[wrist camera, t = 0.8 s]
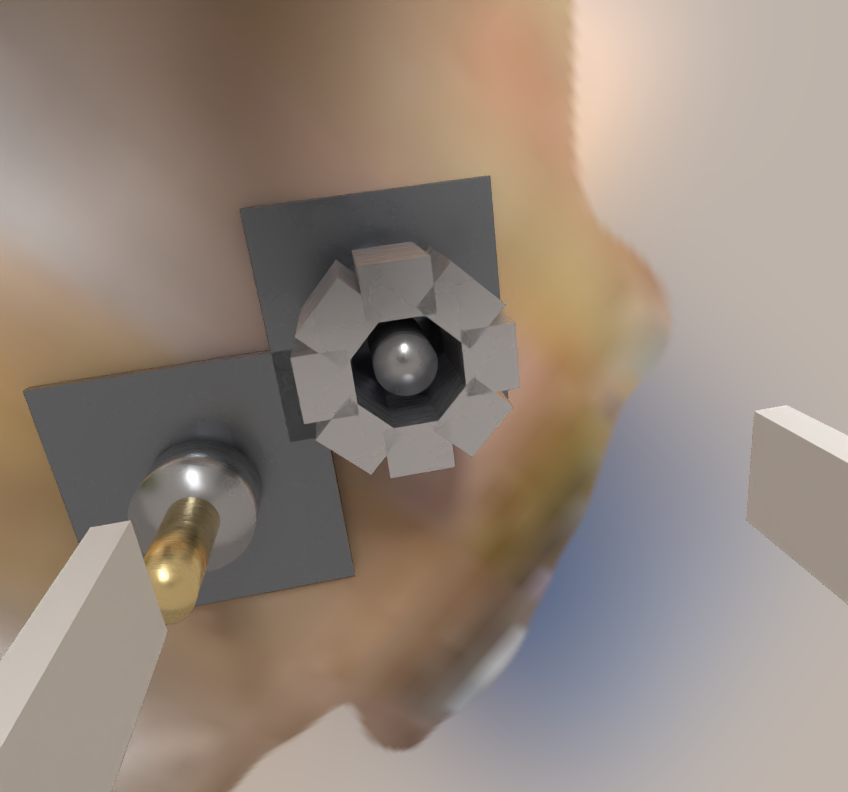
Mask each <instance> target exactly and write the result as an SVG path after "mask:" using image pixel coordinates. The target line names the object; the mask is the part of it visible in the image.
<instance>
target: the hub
mask: <svg viewBox="0 0 848 792" xmlns="http://www.w3.org/2000/svg"><path fill="white" fill-rule="evenodd" d="M282 352H283V351H281V352H278V353H281V354H282ZM284 352H286V350H285V351H284ZM290 352H292V349H291V351H290ZM276 353H277V352H276ZM271 354H273V352H272V353H271V351H270V350H266V351H260V352H253V353H247V354H240V355H234V356H228V357H221V358H215V359H208V360H202V361H195V362H189V363H183V364H176V365H170V366H163V367H157V368H150V369H144V370H138V371H131V372H125V373H118V374H112V375H105V376H99V377H92V378H86V379H80V380H73V381H67V382H60V383H54V384H47V385H41V386H35V387H28V388H27V389H26V390H24V391H23V393H24V396H25V399H26V401H27V404H28V407H29V409H30V412H31V415H32V417H33V420H34V423H35V426H36V428H37V431H38V434H39V436H40V439H41V442H42V444H43V447H44V450H45V453H46V455H47V458H48V461H49V463H50V466H51V469H52V471H53V474H54V477H55V480H56V482H57V485H58V488H59V490H60V493H61V496H62V498H63V501H64V504H65V507H66V509H67V512H68V515H69V517H70V520H71V523H72V525H73V528H74V531H75V534H76V536H77V539H78V542H79V543H80V542H81V540H82V539H83V537H84V536H85V535H86V533H87V532H88V530H89V529H90V527H96V526H101V525H107V524H113V523H118V522H124V521H130V520H131V523H132V526H133V529H134V532H135V535H136V538H137V541H138V544H139V547H140V550H141V553H142V556H143V559H144V562H145V565H146V568H147V571H148V574H149V577H150V580H151V583H152V587H153V590H154V593H155V596H156V599H157V602H158V605H159V608H160V611H161V614H162V617H163V620H164V623H165V625H168V624H173V623H176V622H179V621H181V620H183V619H184V618H186V617H187V616H188V615H189V614H190V613H191V612H192V610H193V608H194V606H198V605H203V604H208V603H214V602H219V601H224V600H229V599H234V598H240V597H245V596H250V595H255V594H261V593H266V592H271V591H276V590H281V589H287V588H292V587H297V586H302V585H307V584H313V583H318V582H323V581H328V580H334V579H339V578H344V577H349V576H354V575H355V574H354V566H353V560H352V555H351V550H350V545H349V540H348V535H347V529H346V524H345V519H344V514H343V509H342V503H341V498H340V493H339V488H338V483H337V477H336V472H335V467H334V462H333V457H332V451H331V450H330V449H329V448H327V447H326V446H324V445H322V444H321V443H319V442H318V441H316V438H314V436H313V437H312V436H311V435H310V436H311V438H312V439H310V438H309V436H308V435H307V434H310V433H311V434H313V433H312V432H314V431H313V428H311V429H312V430H311V429H310V428H309V429H310V430H311V431H312V432H310V431H309V430H308V428H307V426H308V424H309V423H308V424H307V425H305V426H306V427H305V426H304V425H303V426H304V427H305V428H307V430H308V432H309V433H305V431H307V430H304V429H305V428H303V427H302V425H301V426H299V425H298V424H297V422H298V419H297V418H296V419H297V420H296V421H295V419H294V420H293V418H295V416H296V415H297V414H296V413H297V411H298V409H299V408H298V409H297V407H300V405H299V406H298V405H296V404H297V403H298V404H300V403H299V401H298V402H296V404H295V402H294V401H293V400H295V399H297V398H295V399H293V398H292V397H293V396H294V395H290V394H293V393H296V392H297V390H296V389H294V390H296V391H295V392H294V390H293V391H292V389H290V387H289V386H292V385H289V386H288V385H287V386H285V383H287V382H286V380H285V375H286V376H287V377H289V376H291V375H287V373H288V371H287V370H288V369H287V370H286V367H287V366H284V365H286V364H287V363H286V362H287V361H286V362H285V364H284V365H283V364H281V363H282V362H283V361H284V360H285V359H284V360H282V361H281V362H280V363H279V362H277V361H278V360H279V359H280V358H281V359H283V357H284V356H285V355H284V356H283V354H282V355H281V354H279V355H281V356H283V357H279V358H278V360H277V359H276V358H277V357H278V356H279V355H277V354H276V356H277V357H276V358H275V359H274V360H275V362H277V363H276V364H278V363H279V364H278V366H280V364H281V365H283V366H284V367H285V368H284V367H282V366H280V367H282V368H280V367H279V368H280V369H283V368H284V369H285V371H287V372H285V373H286V374H285V373H284V372H283V370H282V371H281V370H280V369H279V370H280V371H281V372H279V370H276V369H277V368H278V366H277V365H275V363H274V364H273V361H272V360H273V358H274V357H275V356H274V354H273V355H272V356H273V357H272V356H271ZM285 354H286V356H285V357H286V358H290V357H289V356H291V355H289V356H288V357H287V355H288V351H287V352H286V353H285ZM276 360H277V361H276ZM286 360H288V359H286ZM288 361H289V360H288ZM283 363H284V362H283ZM288 364H289V365H290V361H289V363H288ZM275 366H277V368H276V369H274V367H275ZM289 367H290V366H289ZM287 368H288V367H287ZM290 368H292V366H291V367H290ZM275 370H276V371H278V372H279V373H278V372H277V373H278V375H279V374H280V373H281V374H280V378H281V375H282V374H285V375H282V377H284V379H282V378H281V379H282V380H283V381H284V380H285V381H284V383H283V384H281V383H280V384H281V385H280V386H281V388H282V385H284V386H285V387H284V386H283V387H284V388H286V389H287V388H289V389H290V390H291V392H292V393H290V391H289V389H287V391H288V392H289V393H288V392H287V393H288V394H289V396H291V399H292V401H293V404H294V405H296V406H297V407H296V406H294V405H292V402H291V401H290V402H291V403H290V402H289V400H290V398H289V397H286V396H287V395H286V394H287V393H286V392H285V391H284V388H282V390H283V391H284V393H286V394H285V395H284V394H281V393H282V392H280V390H281V389H280V388H279V387H278V385H279V383H278V384H277V381H278V380H279V379H280V378H278V375H277V373H276V374H275ZM289 371H290V369H289ZM282 372H283V373H282ZM290 372H291V371H290ZM290 372H289V373H288V374H291V373H292V372H293V368H292V372H291V373H290ZM276 375H277V376H276ZM287 377H286V379H288V378H287ZM291 377H292V376H291ZM291 377H289V380H290V381H289V383H288V384H290V382H291V380H292V379H291ZM276 378H277V379H276ZM292 378H294V374H293V377H292ZM281 379H280V380H281ZM280 380H279V381H280ZM279 381H278V382H279ZM283 381H282V382H283ZM292 382H294V380H293V381H292ZM292 382H291V384H292ZM294 385H295V384H294ZM292 387H293V388H294V387H295V386H292ZM279 389H280V390H279ZM282 390H281V391H282ZM279 392H280V393H279ZM280 394H281V395H280ZM296 395H298V392H297V394H296ZM281 396H282V398H284V396H285V398H288V399H289V400H288V402H289V403H290V405H291V406H292V408H293V406H294V408H295V407H296V408H295V409H296V410H295V409H292V408H291V407H290V405H287V404H289V403H288V402H286V403H287V404H286V405H287V407H284V406H285V404H283V406H282V400H281V399H282V398H281ZM294 397H297V396H294ZM285 398H284V399H285ZM298 399H299V398H298ZM298 399H297V400H298ZM283 401H285V400H283ZM286 401H287V400H286ZM288 406H289V407H290V408H288ZM283 407H284V408H285V409H286V410H285V409H284V408H283ZM287 408H288V410H289V413H292V412H293V410H294V411H295V412H296V413H295V412H294V413H295V414H293V415H292V414H289V413H287V412H288V411H287ZM300 408H301V407H300ZM283 409H284V410H285V411H287V412H286V413H287V415H286V416H288V414H289V415H292V416H291V417H290V416H289V417H290V418H292V417H293V416H294V415H295V416H294V417H293V418H292V419H291V421H289V423H290V422H291V423H292V424H293V425H292V426H294V425H295V424H294V423H293V422H294V421H295V423H296V424H297V425H298V427H300V428H298V427H296V428H295V426H294V427H292V426H291V423H290V425H288V424H289V423H288V424H287V422H286V420H288V419H289V418H287V419H285V418H286V416H285V414H286V413H285V411H283ZM290 409H291V410H290ZM300 410H301V409H299V413H298V415H299V416H296V417H299V419H301V418H300V416H301V414H302V412H300ZM291 411H292V412H291ZM300 413H301V414H300ZM301 417H302V416H301ZM289 420H290V419H289ZM292 420H293V421H292ZM301 421H302V419H301ZM299 422H300V421H299ZM301 423H302V424H303V421H302V422H300V424H301ZM315 423H316V422H315ZM315 423H313V424H315ZM286 424H287V425H288V426H289V428H291V430H293V429H294V428H295V429H296V431H298V429H300V430H299V431H301V429H302V428H303V430H304V432H302V431H301V432H302V434H301V435H302V436H301V435H299V434H298V435H299V436H300V437H299V438H298V436H297V438H298V439H297V440H296V441H295V440H294V441H295V442H293V439H295V438H293V439H289V436H290V435H291V434H292V433H291V434H290V433H288V432H289V431H288V430H290V429H289V428H287V427H288V426H287V425H286ZM309 425H312V424H309ZM290 426H291V427H290ZM313 426H314V429H316V427H315V426H316V425H313ZM311 427H312V426H311ZM292 428H293V429H292ZM297 428H298V429H297ZM291 430H290V431H291ZM296 431H294V430H293V431H292V432H294V433H295V434H297V433H299V432H297V433H296ZM301 432H300V433H301ZM315 432H316V431H315ZM294 433H293V434H292V435H291V437H290V438H292V436H294ZM304 433H305V434H306V435H307V436H308V437H307V438H308V439H306V438H305V439H306V440H304V439H302V438H303V437H304V436H305V434H304ZM289 434H290V435H289ZM303 434H304V435H303ZM315 434H316V433H314V435H315ZM294 437H296V435H295V436H294ZM301 437H302V438H301ZM305 437H306V436H305ZM315 437H316V435H315ZM300 439H302V440H300ZM299 440H300V441H299ZM290 441H291V442H290Z"/></svg>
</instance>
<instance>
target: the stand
mask: <svg viewBox="0 0 848 792" xmlns="http://www.w3.org/2000/svg"><path fill="white" fill-rule="evenodd" d="M240 213H241V218H242V222H243V227H244V232H245V236H246V241H247V245H248V250H249V255H250V259H251V264H252V268H253V273H254V278H255V282H256V287H257V292H258V296H259V301H260V305H261V310H262V315H263V319H264V324H265V328H266V333H267V338H268V342H269V347H270V351H271V353H272V352H273V354H274V356H275V357H274V358H273V360H272V361H273V364H274V363H275V365H277V366H278V364H279V363H280V362H281V361H282V360H284V359H285V360H284V361H283V362H284V363H283V362H282V363H281V364H283V365H284V364H285V362H286V361H287V362H286V363H287V364H286V365H284V366H287V367H288V368H287V367H286V370H287V369H288V370H287V371H288V373H289V372H290V371H291V372H292V368H290V367H291V366H292V363H291V358H286V357H285V356H286V354H285V353H286V352H287V351H288V355H287V357H288V356H289V355H291V352H290V351H291V349H292V348H293V343H294V338H295V334H296V329H297V324H298V320H299V315H300V310H301V307H302V306H303V305H304V303H305V302H306V300H307V299H308V298H309V296H310V295H311V294H312V292H313V291H314V289H315V288H316V287H317V285H318V284H319V282H320V281H321V280H322V278H323V277H324V275H325V274H326V273H327V271H328V270H329V268H330V267H331V266H332V264H333V263H334V261H335V260H337V261H339V262H340V263H341V264H343V265H344V266H345V267H347V268H348V269H349V270H351V271H352V272H354V273H355V268H354V262H353V255H352V250H355V249H362V248H369V247H376V246H383V245H390V244H397V243H404V242H411V241H412V242H413V243H415V244H416V245H417V246H418V247H420V248H421V249H422V250H424V251H426V250H427V248H428V247H429V246H430V247H431V248H433V249H434V250H436V251H437V252H439V253H440V254H441V255H443V256H444V257H446V258H447V259H449V260H450V261H452V262H453V263H454V264H455V265H457V266H458V267H459V268H460V269H462V270H463V271H464V272H465V273H467V274H468V275H469V276H471V277H472V278H473V279H474V280H476V281H477V282H478V283H479V284H481V285H482V286H483V287H484V288H486V289H487V290H488V291H489V292H491V293H492V294H493V295H494V296H496V297H497V298H498V299H499V300H500V291H499V279H498V266H497V254H496V241H495V229H494V216H493V204H492V192H491V179H490V176H481V177H474V178H466V179H459V180H451V181H444V182H436V183H429V184H421V185H414V186H406V187H399V188H392V189H384V190H377V191H369V192H362V193H354V194H347V195H339V196H332V197H324V198H317V199H309V200H302V201H294V202H287V203H279V204H272V205H264V206H257V207H249V208H242V209H240ZM285 350H286V352H284V351H285ZM281 351H283V352H282V354H283V356H284V355H285V356H284V357H283V356H281V355H282V354H281V353H278V352H281ZM442 351H443V349H442V340H441V332H440V326H439V325H437V324H436V323H435V322H433V321H432V320H431V319H429V318H428V317H427V316H418V317H412V318H405V319H399V320H392V321H386V322H379V323H378V324H377V325H376V326H375V328H374V329H373V330H372V332H371V333H370V334H369V336H368V337H367V338H366V340H365V341H364V342H363V344H362V345H361V346H360V348H359V349H358V350H357V352H356V353H355V354H354V356H353V357H352V358H351V359H352V365H353V366H355V367H356V368H358V369H359V370H361V371H362V372H364V373H365V374H367V375H368V376H370V377H371V378H373V379H374V380H375V381H377V382H378V383H380V385H381V386H382V387H383V388H384V389H386V390H387V391H389V392H390V393H393V394H395V395H400V396H410V395H414V394H417V393H419V392H421V391H423V390H424V389H426V388H427V387H428V386H429V385H430V384H431V383H432V381H433V380H434V378H435V375H436V373H437V368H438V360H437V357H438V356H439V354H440V353H441V352H442ZM276 352H277V353H276ZM273 354H271V356H272V355H273ZM276 354H277V355H279V354H281V355H279V356H278V357H277V356H276ZM272 357H273V356H272ZM276 357H277V358H276ZM279 357H283V359H281V358H280V359H279V360H278V358H279ZM289 357H291V356H289ZM275 358H276V359H277V360H278V361H277V360H276V361H277V362H279V363H278V364H276V363H277V362H275V360H274V359H275ZM286 359H288V360H289V361H290V365H289V364H288V363H289V361H288V360H286ZM281 364H280V366H282V367H284V366H283V365H281ZM277 366H275V367H274V369H276V368H277ZM280 366H278V368H277V369H276V370H279V369H280V368H282V367H280ZM289 366H290V367H289ZM279 367H280V368H279ZM284 368H285V367H284ZM284 368H283V369H280V370H281V371H282V370H283V372H284V373H285V372H287V371H285V369H284ZM289 369H290V371H289ZM276 370H275V374H276V373H277V372H278V371H276ZM280 370H279V372H281V371H280ZM279 372H278V373H279ZM283 372H282V373H283ZM291 372H290V373H291ZM278 373H277V375H278ZM288 373H287V375H291V376H292V377H293V374H294V373H293V372H292V373H291V374H288ZM280 374H281V373H280ZM280 374H279V375H278V378H280ZM285 374H286V373H285ZM285 374H282V375H285ZM277 375H276V376H277ZM282 375H281V378H282V379H284V377H282ZM291 376H289V377H291ZM286 377H287V376H286V375H285V380H286V382H287V383H285V386H287V385H288V386H289V385H292V386H295V387H294V388H293V387H292V386H289V387H290V389H292V391H293V390H294V389H296V390H297V388H296V383H295V378H292V377H291V379H292V380H291V382H292V381H293V380H294V382H292V384H291V382H290V384H288V383H289V381H290V380H289V377H287V378H288V379H286ZM281 378H280V379H281ZM276 379H277V378H276ZM280 379H279V380H280ZM282 379H281V380H280V381H279V380H278V381H279V382H278V381H277V384H278V383H279V385H278V387H279V388H280V389H281V390H282V388H284V387H285V386H284V385H282V388H281V386H280V385H281V384H283V383H284V381H285V380H284V381H283V380H282ZM282 381H283V382H282ZM280 383H281V384H280ZM294 384H295V385H294ZM283 386H284V387H283ZM280 389H279V390H280ZM287 389H289V388H287ZM287 389H286V388H284V391H285V392H286V393H287V392H288V391H287ZM290 389H289V391H290V393H292V392H291V390H290ZM281 390H280V392H282V393H281V394H284V395H285V394H286V393H284V391H283V390H282V391H281ZM296 390H294V392H295V391H296ZM280 392H279V393H280ZM288 393H289V392H288ZM288 393H287V394H286V395H287V396H286V397H289V398H290V400H289V399H288V398H285V396H284V398H285V399H284V398H282V396H281V398H282V399H281V400H282V406H283V404H285V406H284V407H287V405H290V403H291V402H292V405H294V404H293V401H294V402H295V404H296V402H298V401H299V399H298V398H299V397H298V395H296V394H297V392H296V393H293V394H290V395H294V396H297V397H294V396H293V397H292V398H293V399H295V398H297V399H298V400H297V399H295V400H293V401H292V399H291V396H289V394H288ZM502 393H503V394H504V395H505V396H506V398H507V399H508V390H505V391H502ZM281 394H280V395H281ZM283 400H285V401H283ZM286 400H287V401H286ZM288 400H289V402H290V401H291V402H290V403H289V402H288ZM286 402H288V403H289V404H287V403H286ZM299 403H300V402H299ZM286 404H287V405H286ZM296 405H298V406H299V405H300V404H298V403H297V404H296ZM296 405H294V406H296ZM294 406H293V408H292V406H291V405H290V407H291V408H292V409H295V408H296V407H297V406H296V407H295V408H294ZM284 407H283V408H284ZM290 407H289V406H288V408H290ZM288 408H287V411H288V412H287V411H285V410H286V409H285V408H284V409H285V410H284V409H283V411H285V413H286V412H287V413H289V410H288ZM298 408H299V409H301V408H300V407H297V409H298ZM299 409H298V411H297V413H296V412H295V411H294V410H293V412H292V411H291V412H292V413H289V414H292V415H293V414H295V413H296V414H297V415H296V416H299V415H298V413H299ZM290 410H291V409H290ZM295 410H296V409H295ZM294 412H295V413H294ZM300 412H301V410H300ZM287 413H286V414H285V416H286V415H287ZM289 414H288V416H286V418H285V419H287V418H289V419H290V420H289V419H288V420H286V422H287V424H288V423H289V421H291V419H292V418H293V417H294V416H295V415H294V416H293V417H292V418H290V417H291V416H292V415H289ZM300 414H301V413H300ZM289 416H290V417H289ZM296 416H295V418H293V420H294V419H295V421H296V420H297V419H298V422H297V424H298V425H299V426H301V425H302V427H303V428H305V427H306V426H305V425H307V424H304V421H303V417H301V416H302V414H301V416H300V418H301V419H302V421H303V424H302V423H301V424H300V422H302V421H301V419H299V417H296ZM296 418H297V419H296ZM293 420H292V421H293ZM295 421H294V422H293V423H294V424H295V425H294V426H295V428H296V427H298V425H297V424H296V423H295ZM299 421H300V422H299ZM290 423H291V422H290ZM290 423H289V424H288V425H290ZM314 423H315V422H314ZM287 424H286V425H287ZM309 424H312V425H309ZM309 424H308V426H307V428H308V430H309V431H310V432H312V431H311V430H312V429H311V428H313V431H314V432H312V433H313V434H311V433H310V434H307V435H308V436H309V438H310V439H312V438H311V436H312V437H313V436H314V438H316V437H315V435H316V434H315V435H314V433H316V432H315V431H316V429H314V426H313V425H316V423H315V424H313V423H309ZM288 425H287V426H288ZM292 425H293V424H292V423H291V426H292ZM303 425H304V426H305V427H304V426H303ZM291 426H290V427H291ZM294 426H292V427H294ZM311 426H312V427H311ZM315 427H316V426H315ZM287 428H289V426H288V427H287ZM295 428H294V429H293V428H292V429H293V430H294V431H296V429H295ZM298 428H300V427H298ZM298 428H297V429H298ZM303 428H302V429H301V431H302V432H304V430H307V428H305V429H304V430H303ZM309 428H310V429H311V430H310V429H309ZM289 429H290V430H291V428H289ZM290 430H288V431H289V432H288V433H290V434H291V433H292V434H293V433H294V432H292V431H293V430H291V431H290ZM299 430H300V429H298V431H296V433H297V432H299V433H297V434H295V433H294V436H295V435H296V437H294V436H292V438H290V437H291V435H292V434H291V435H290V434H289V435H290V436H289V439H293V438H295V439H293V442H295V441H296V440H297V439H298V438H299V437H300V436H299V435H301V434H302V432H301V431H299ZM308 430H307V431H305V433H309V432H308ZM300 432H301V433H300ZM305 433H304V434H305ZM298 434H299V435H298ZM304 434H303V435H304ZM307 435H306V434H305V436H306V437H305V436H304V437H303V438H302V437H301V438H302V439H304V440H306V439H308V438H307V437H308V436H307ZM310 435H311V436H310ZM297 436H298V438H297ZM301 436H302V435H301ZM305 438H306V439H305ZM302 439H300V440H302ZM294 440H295V441H294ZM300 440H299V441H300ZM290 442H291V441H290Z"/></svg>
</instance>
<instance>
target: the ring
mask: <svg viewBox="0 0 848 792" xmlns="http://www.w3.org/2000/svg"><path fill="white" fill-rule="evenodd" d="M352 255H353V262H354V268H355V273H354V272H352V271H351V270H349V269H348V268H347V267H345V266H344V265H343V264H341V263H340V262H339V261H337V260H335V261H334V263H333V264H332V266H331V267H330V268H329V270H328V271H327V273H326V274H325V275H324V277H323V278H322V280H321V281H320V282H319V284H318V285H317V287H316V288H315V289H314V291H313V292H312V294H311V295H310V296H309V298H308V299H307V300H306V302H305V303H304V305H303V306H302V307H301V310H300V315H299V320H298V324H297V329H296V334H295V338H294V343H293V348H292V352H291V357H290V358H291V363H292V368H293V373H294V378H295V383H296V388H297V392H298V397H299V402H300V407H301V412H302V417H303V421H304V424H308V423H314V422H316V441H318V442H319V443H321V444H322V445H324V446H326V447H327V448H329V449H330V450H332V451H334V452H335V453H337V454H338V455H340V456H342V457H343V458H345V459H346V460H348V461H350V462H351V463H353V464H354V465H356V466H358V467H359V468H361V469H362V470H364V471H366V472H367V473H369V474H371V475H372V473H373V472H374V471H375V469H376V468H377V467H378V466H379V464H380V463H381V462H382V461H383V459H384V458H385V457H386V459H387V464H388V469H389V474H390V478H396V477H401V476H407V475H413V474H418V473H424V472H430V471H435V470H441V469H446V468H452V467H455V462H454V453H453V444H454V445H455V446H457V447H458V448H459V449H461V450H462V451H464V452H465V453H467V454H468V455H470V456H471V457H473V455H474V454H475V453H476V452H477V451H478V449H479V448H480V447H481V446H482V444H483V443H484V442H485V441H486V440H487V438H488V437H489V436H490V435H491V434H492V432H493V431H494V430H495V429H496V427H497V426H498V425H499V424H500V423H501V421H502V420H503V419H504V418H505V417H506V415H507V414H508V413H509V412H510V410H511V409H512V408H513V407H514V406H513V405H512V404H511V403H510V401H509V400H508V399H507V398H506V396H505V395H504V394H503V393H502V391H505V390H511V389H517V388H520V382H519V369H518V355H517V341H516V327H515V322H514V321H513V320H511V319H510V318H509V317H507V316H506V315H505V314H504V313H502V312H501V310H502V309H503V308H504V306H505V305H506V304H504V303H503V302H502V301H501V300H499V299H498V298H497V297H496V296H494V295H493V294H492V293H491V292H489V291H488V290H487V289H486V288H484V287H483V286H482V285H481V284H479V283H478V282H477V281H476V280H474V279H473V278H472V277H471V276H469V275H468V274H467V273H465V272H464V271H463V270H462V269H460V268H459V267H458V266H457V265H455V264H454V263H453V262H452V261H450V260H449V259H447V258H446V257H444V256H443V255H441V254H440V253H439V252H437V251H436V250H434V249H433V248H431V247H430V246H429V247H428V248H427V250H426V251H424V250H422V249H421V248H420V247H418V246H417V245H416V244H415V243H413V242H412V241H411V242H404V243H397V244H390V245H383V246H376V247H369V248H362V249H355V250H352ZM418 316H427V317H428V318H429V319H431V320H432V321H433V322H435V323H436V324H437V325H439V326H440V332H441V340H442V349H443V351H442V352H441V353H440V354H439V356H438V357H437V360H438V368H437V373H436V375H435V378H434V380H433V381H432V383H431V384H430V385H429V386H428V387H427V388H426V389H424V390H423V391H421V392H419V393H417V394H414V395H410V396H400V395H395V394H393V393H390V392H389V391H387V390H386V389H384V388H383V387H382V386H381V385H380V383H378V382H377V381H375V380H374V379H373V378H371V377H370V376H368V375H367V374H365V373H364V372H362V371H361V370H359V369H358V368H356V367H355V366H353V365H352V359H351V358H352V357H353V356H354V354H355V353H356V352H357V350H358V349H359V348H360V346H361V345H362V344H363V342H364V341H365V340H366V338H367V337H368V336H369V334H370V333H371V332H372V330H373V329H374V328H375V326H376V325H377V324H378V323H379V322H386V321H392V320H399V319H405V318H412V317H418Z"/></svg>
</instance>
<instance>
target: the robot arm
mask: <svg viewBox="0 0 848 792" xmlns="http://www.w3.org/2000/svg"><path fill="white" fill-rule="evenodd" d="M746 521H748V522H749V523H750V524H751V525H752V526H753V527H755V528H756V529H757V530H758V531H760V532H761V533H762V534H763V535H764V536H765V537H767V538H768V539H769V540H770V541H772V542H773V543H774V544H775V545H776V546H778V547H779V548H780V549H781V550H782V551H784V552H785V553H786V554H787V555H788V556H790V557H791V558H792V559H793V560H795V561H796V562H797V563H798V564H799V565H801V566H802V567H803V568H804V569H805V570H807V571H808V572H809V573H810V574H811V575H813V576H814V577H815V578H816V579H818V580H819V581H820V582H821V583H822V584H824V585H825V586H826V587H827V588H828V589H830V590H831V591H832V592H833V593H834V594H836V595H837V596H838V597H839V598H841V599H842V600H843V601H844V602H845V603H846V604H848V436H847V435H845V434H843V433H841V432H839V431H837V430H835V429H833V428H831V427H829V426H827V425H825V424H823V423H821V422H819V421H817V420H815V419H813V418H811V417H809V416H807V415H805V414H803V413H801V412H799V411H797V410H796V409H794V408H792V407H790V406H788V405H785V406H780V407H774V408H768V409H763V410H757V411H754V420H753V435H752V448H751V462H750V475H749V490H748V503H747V517H746ZM167 633H168V632H167V629H166V626H165V623H164V620H163V617H162V614H161V611H160V608H159V605H158V602H157V599H156V596H155V593H154V590H153V587H152V583H151V580H150V577H149V574H148V571H147V568H146V565H145V562H144V559H143V556H142V553H141V550H140V547H139V544H138V541H137V538H136V535H135V532H134V529H133V526H132V523H131V520H130V521H124V522H118V523H113V524H107V525H101V526H96V527H90V529H89V530H88V532H87V533H86V535H85V536H84V537H83V539H82V540H81V542H80V543H79V545H78V546H77V548H76V549H75V551H74V552H73V554H72V555H71V557H70V558H69V560H68V561H67V563H66V564H65V566H64V567H63V569H62V570H61V572H60V573H59V575H58V576H57V578H56V579H55V581H54V582H53V583H52V585H51V586H50V588H49V589H48V591H47V592H46V594H45V595H44V597H43V598H42V600H41V601H40V603H39V604H38V606H37V607H36V609H35V610H34V612H33V613H32V615H31V616H30V618H29V619H28V621H27V622H26V624H25V625H24V626H23V628H22V629H21V631H20V632H19V634H18V635H17V637H16V638H15V640H14V641H13V643H12V644H11V646H10V647H9V649H8V650H7V652H6V653H5V655H4V656H3V658H2V659H1V661H0V792H112V789H113V787H114V784H115V781H116V778H117V775H118V772H119V769H120V767H121V764H122V761H123V758H124V755H125V752H126V749H127V747H128V744H129V741H130V738H131V735H132V732H133V730H134V727H135V724H136V721H137V718H138V715H139V712H140V710H141V707H142V704H143V701H144V698H145V695H146V692H147V690H148V687H149V684H150V681H151V678H152V675H153V672H154V670H155V667H156V664H157V661H158V658H159V655H160V653H161V650H162V647H163V644H164V641H165V638H166V635H167Z"/></svg>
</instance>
